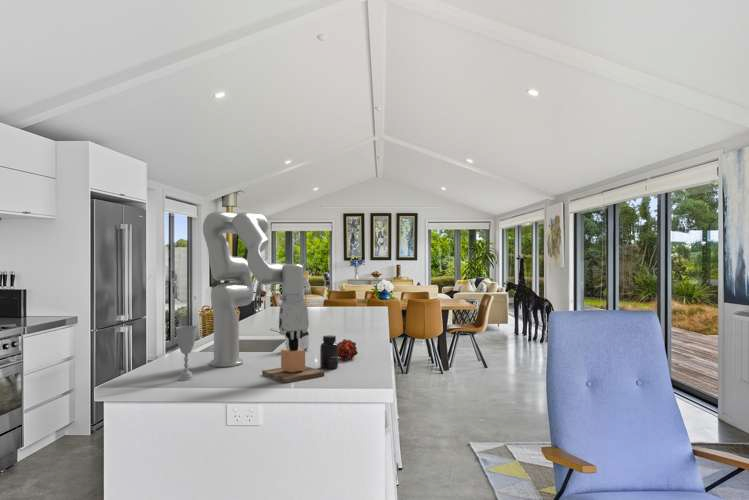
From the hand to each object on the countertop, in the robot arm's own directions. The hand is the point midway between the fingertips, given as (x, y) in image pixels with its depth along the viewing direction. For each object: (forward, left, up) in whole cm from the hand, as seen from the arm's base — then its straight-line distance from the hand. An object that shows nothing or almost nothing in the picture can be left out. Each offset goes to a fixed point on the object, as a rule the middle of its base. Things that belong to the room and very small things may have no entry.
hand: (293, 349), depth 189 cm
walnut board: (0, 0, -9) cm, 9 cm away
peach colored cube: (0, 0, -7) cm, 7 cm away
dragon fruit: (-11, +32, -9) cm, 35 cm away
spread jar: (-38, +25, -9) cm, 47 cm away
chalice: (-20, -31, -9) cm, 38 cm away
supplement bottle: (-2, +17, -9) cm, 19 cm away
